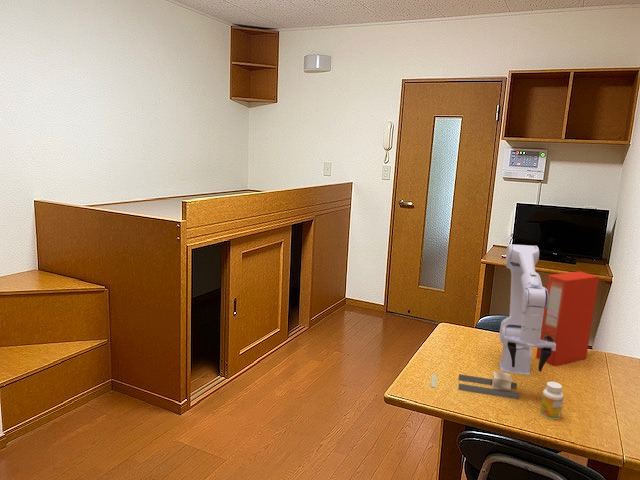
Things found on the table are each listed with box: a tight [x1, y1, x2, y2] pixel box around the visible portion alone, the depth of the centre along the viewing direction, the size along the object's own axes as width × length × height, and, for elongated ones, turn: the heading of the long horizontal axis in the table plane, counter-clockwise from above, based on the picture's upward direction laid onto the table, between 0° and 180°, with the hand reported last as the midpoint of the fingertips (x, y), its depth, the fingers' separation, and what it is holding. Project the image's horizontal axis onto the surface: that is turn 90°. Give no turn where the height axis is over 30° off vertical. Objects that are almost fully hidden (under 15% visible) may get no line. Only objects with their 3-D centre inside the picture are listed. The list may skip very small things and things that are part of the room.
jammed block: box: [491, 371, 512, 392], centre depth 155 cm, size 5×5×5 cm
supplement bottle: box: [540, 381, 564, 420], centre depth 142 cm, size 5×5×10 cm
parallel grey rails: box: [457, 373, 520, 400], centre depth 156 cm, size 18×8×2 cm, turn 74°
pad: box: [430, 373, 437, 389], centre depth 160 cm, size 8×9×1 cm
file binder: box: [535, 270, 600, 367], centre depth 179 cm, size 8×17×32 cm, turn 115°
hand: (526, 368), depth 151 cm, fingers open, 7 cm apart
